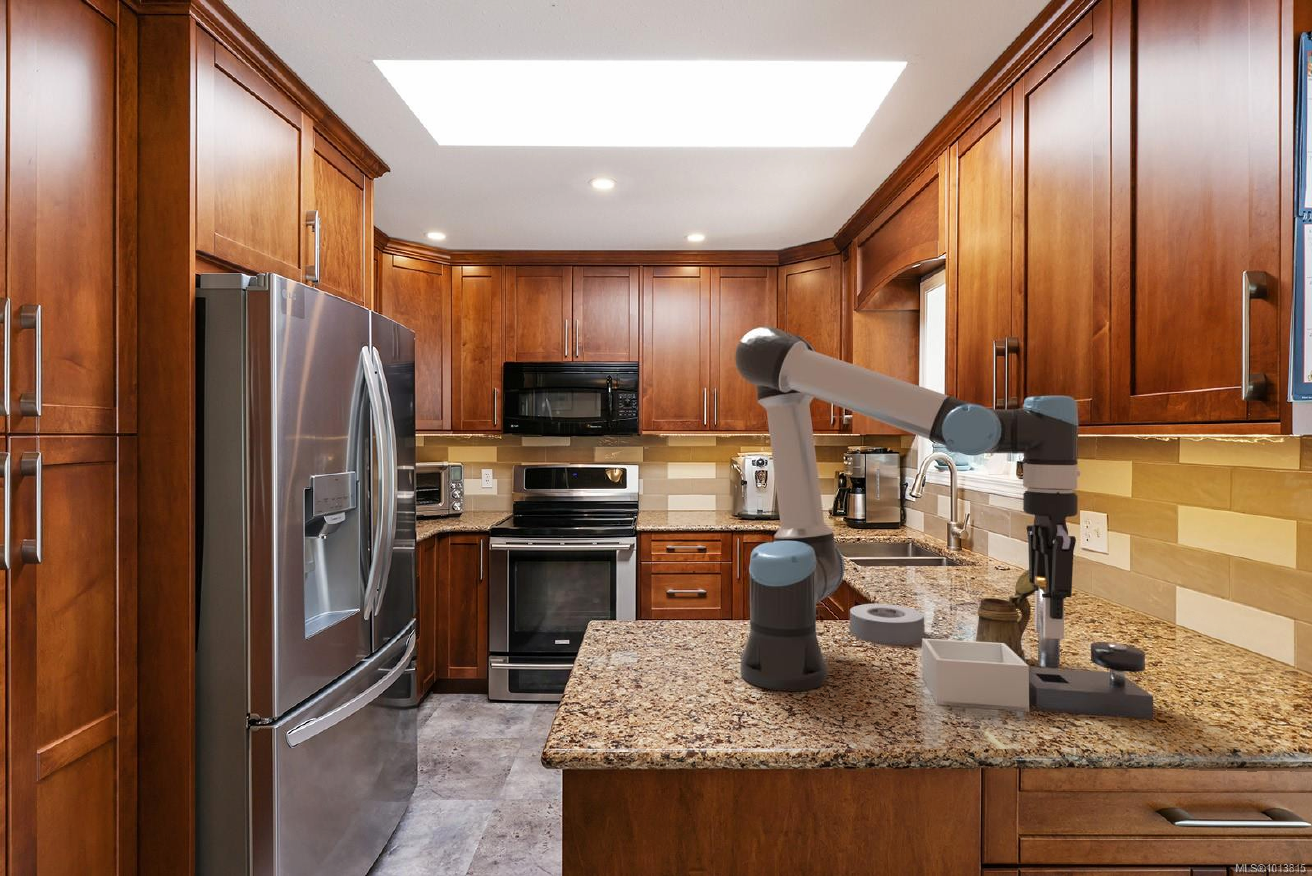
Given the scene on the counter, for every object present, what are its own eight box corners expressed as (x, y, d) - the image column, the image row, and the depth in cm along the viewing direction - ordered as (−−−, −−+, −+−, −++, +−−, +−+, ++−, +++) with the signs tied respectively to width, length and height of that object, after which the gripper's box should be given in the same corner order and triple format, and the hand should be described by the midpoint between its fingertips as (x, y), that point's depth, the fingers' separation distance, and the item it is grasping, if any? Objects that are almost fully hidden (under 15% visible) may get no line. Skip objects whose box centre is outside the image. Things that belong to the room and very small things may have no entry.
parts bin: (937, 704, 100) (936, 660, 101) (922, 678, 112) (922, 638, 112) (1029, 711, 98) (1028, 665, 98) (1004, 684, 109) (1004, 643, 109)
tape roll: (875, 648, 129) (875, 624, 129) (836, 627, 143) (836, 605, 144) (940, 643, 132) (939, 619, 132) (896, 623, 147) (895, 601, 147)
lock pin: (1039, 668, 101) (1040, 580, 101) (1030, 659, 105) (1031, 575, 105) (1067, 670, 100) (1068, 581, 100) (1057, 661, 104) (1057, 576, 104)
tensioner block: (1036, 710, 98) (1036, 649, 98) (1014, 686, 108) (1013, 631, 108) (1161, 720, 95) (1160, 657, 95) (1126, 694, 104) (1125, 637, 104)
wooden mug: (1059, 666, 118) (1058, 570, 118) (989, 667, 117) (988, 571, 117) (1028, 650, 127) (1027, 561, 127) (963, 652, 126) (962, 562, 126)
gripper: (1099, 495, 94) (1098, 652, 94) (1055, 487, 110) (1054, 622, 110) (1044, 494, 95) (1042, 648, 95) (1008, 486, 111) (1007, 619, 111)
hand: (1048, 634), depth 102 cm, fingers closed on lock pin, 3 cm apart
